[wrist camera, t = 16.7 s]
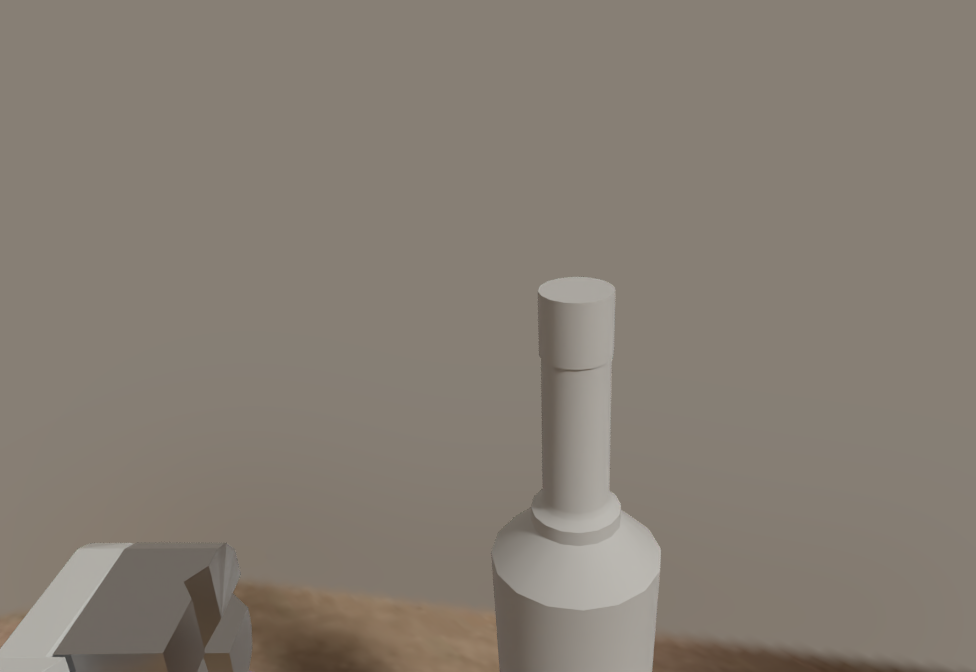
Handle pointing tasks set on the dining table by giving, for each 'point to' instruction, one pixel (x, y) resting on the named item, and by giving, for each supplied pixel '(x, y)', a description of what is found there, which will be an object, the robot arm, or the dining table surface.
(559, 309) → the bottle
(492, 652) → the dining table surface
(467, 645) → the dining table surface
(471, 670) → the dining table surface
